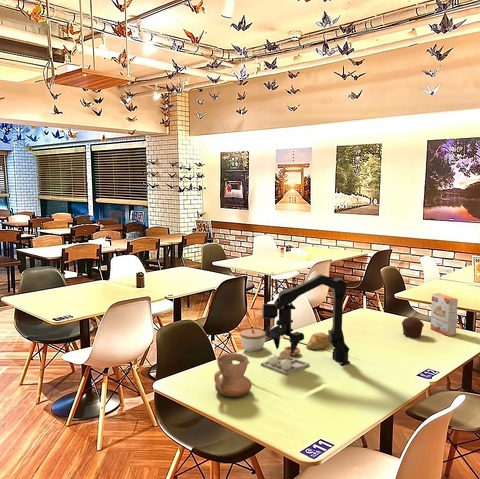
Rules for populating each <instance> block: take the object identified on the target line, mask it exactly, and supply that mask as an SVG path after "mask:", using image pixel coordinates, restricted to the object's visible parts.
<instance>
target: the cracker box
mask: <svg viewBox="0 0 480 479" xmlns="http://www.w3.org/2000/svg"><path fill="white" fill-rule="evenodd" d="M458 304H459V303H458V298H456V297H454V296H449V295H447V294H443V293H432V294H431V307H430V308H431V310H430V311H431V312H430V330H432V331H435V332H437V333H439V334H442V335H444V336H447V337H452V336H453V337H454V336H457V324H458V323H457V320H458V317H457V316H458Z"/></svg>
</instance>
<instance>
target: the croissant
mask: <svg viewBox="0 0 480 479" xmlns="http://www.w3.org/2000/svg"><path fill="white" fill-rule="evenodd" d="M328 335H329V334H326V333H325V332H316V333H313V334H312V335H311V336H310V338H309V341H308V342H307V344H306V348H305V349H307V350H321V349H325V348H326V347H328V346H329V345H330V344H331V343H330V341H329V339H328Z"/></svg>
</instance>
